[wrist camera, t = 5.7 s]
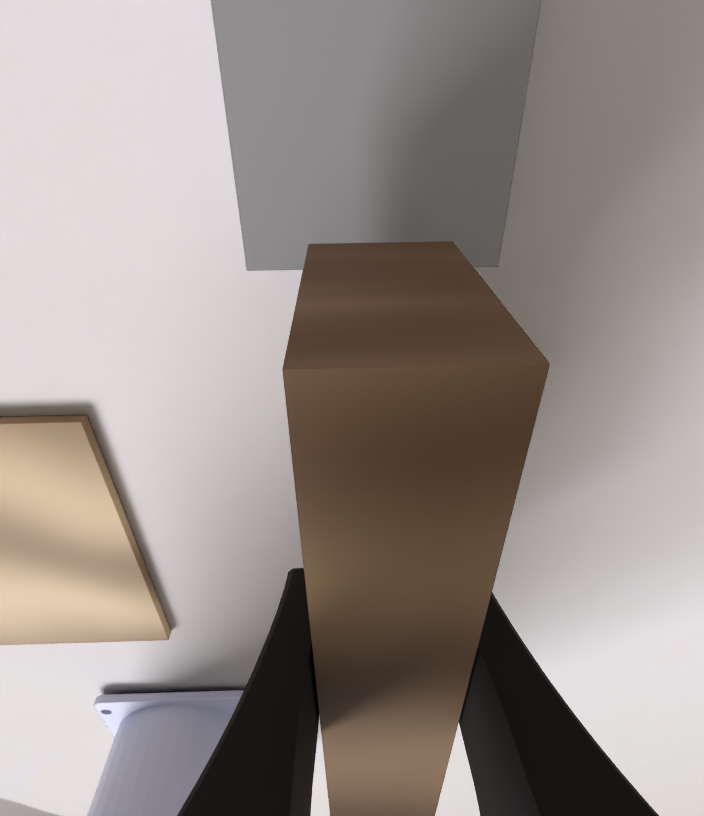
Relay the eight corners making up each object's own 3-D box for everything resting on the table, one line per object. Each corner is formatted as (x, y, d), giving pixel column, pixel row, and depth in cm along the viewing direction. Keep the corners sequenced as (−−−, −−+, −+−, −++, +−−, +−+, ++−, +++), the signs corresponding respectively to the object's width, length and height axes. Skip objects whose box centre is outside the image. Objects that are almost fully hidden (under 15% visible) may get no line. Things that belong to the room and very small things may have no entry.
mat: (171, 631, 21) (168, 639, 21) (-5, 637, 21) (-10, 645, 21) (86, 414, 15) (81, 422, 15) (-168, 421, 15) (-180, 428, 14)
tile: (498, 266, 11) (562, -134, 8) (246, 270, 11) (193, -132, 8) (479, 247, 13) (525, -94, 9) (258, 250, 13) (217, -93, 9)
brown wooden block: (410, 640, 17) (433, 818, 13) (333, 642, 17) (330, 822, 13) (452, 241, 9) (550, 364, 5) (308, 244, 9) (282, 369, 5)
